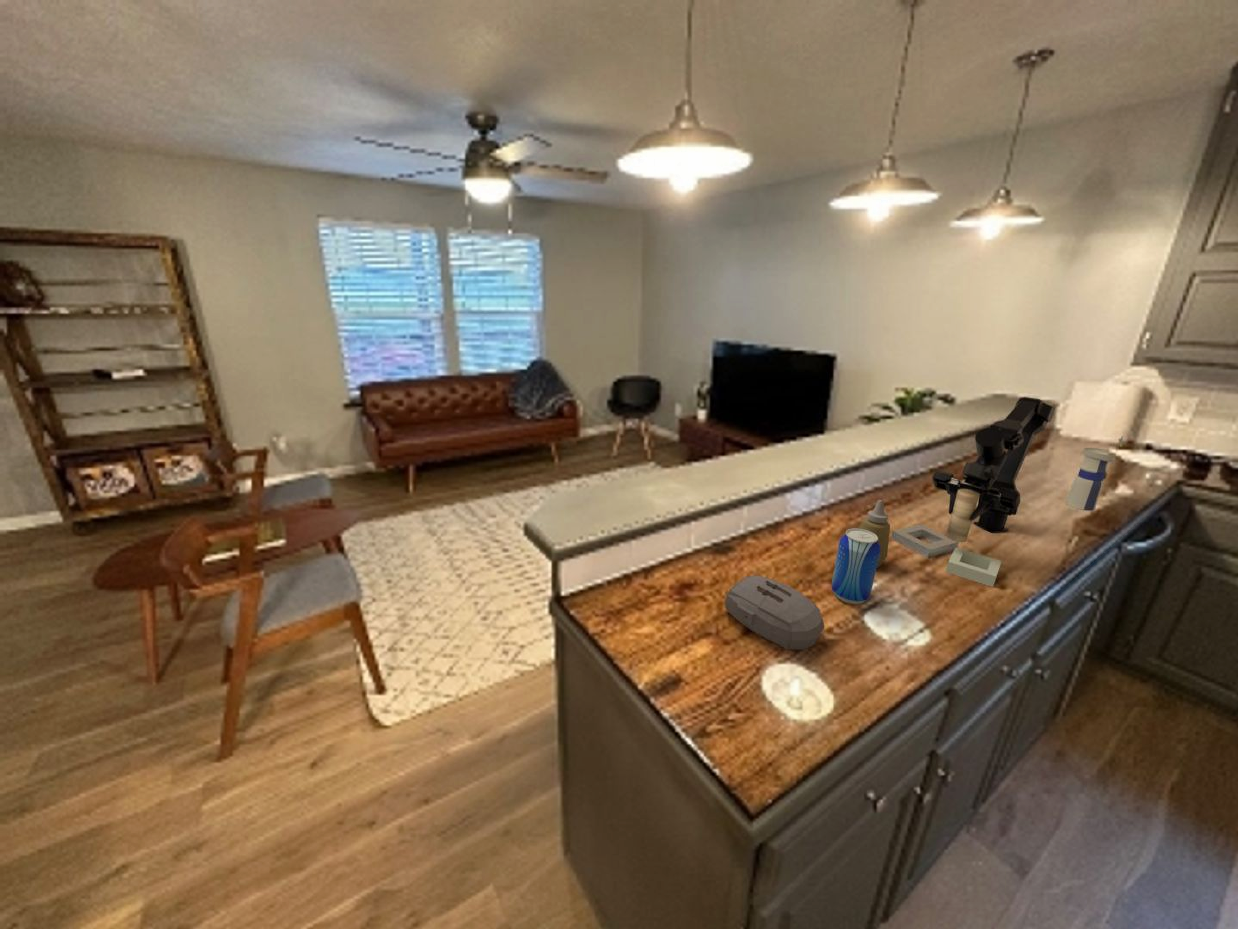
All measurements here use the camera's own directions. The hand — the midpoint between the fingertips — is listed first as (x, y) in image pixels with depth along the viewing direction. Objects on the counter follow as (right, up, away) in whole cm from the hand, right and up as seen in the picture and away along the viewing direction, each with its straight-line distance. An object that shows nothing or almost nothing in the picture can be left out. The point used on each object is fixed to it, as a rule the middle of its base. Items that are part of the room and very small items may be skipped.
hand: (960, 516), depth 126 cm
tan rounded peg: (+1, -6, +3) cm, 7 cm away
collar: (+3, -14, 0) cm, 14 cm away
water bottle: (+68, -1, +40) cm, 79 cm away
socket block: (-1, -9, +14) cm, 17 cm away
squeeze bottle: (-22, -13, +4) cm, 26 cm away
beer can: (-33, -18, -10) cm, 39 cm away
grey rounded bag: (-54, -21, -20) cm, 61 cm away
